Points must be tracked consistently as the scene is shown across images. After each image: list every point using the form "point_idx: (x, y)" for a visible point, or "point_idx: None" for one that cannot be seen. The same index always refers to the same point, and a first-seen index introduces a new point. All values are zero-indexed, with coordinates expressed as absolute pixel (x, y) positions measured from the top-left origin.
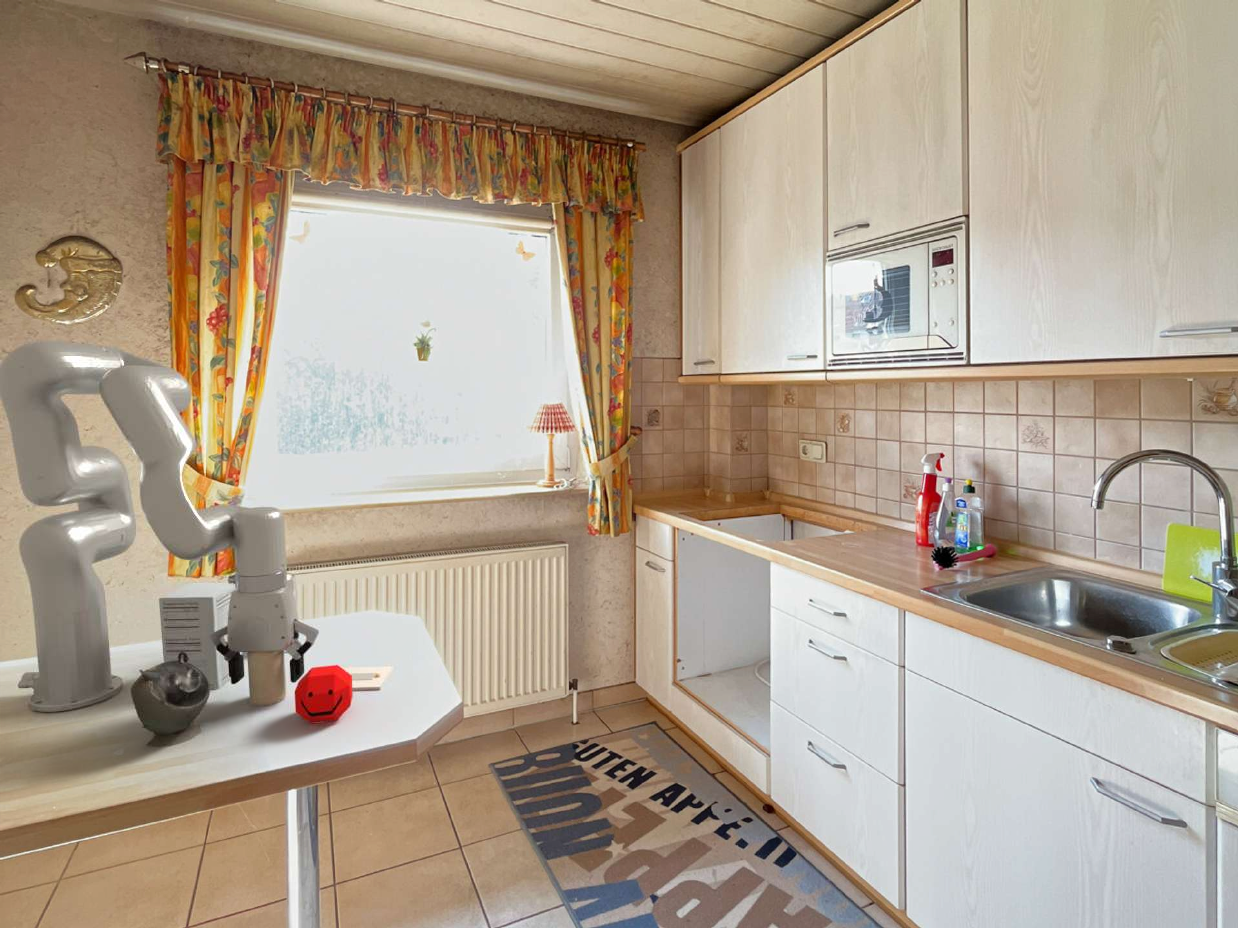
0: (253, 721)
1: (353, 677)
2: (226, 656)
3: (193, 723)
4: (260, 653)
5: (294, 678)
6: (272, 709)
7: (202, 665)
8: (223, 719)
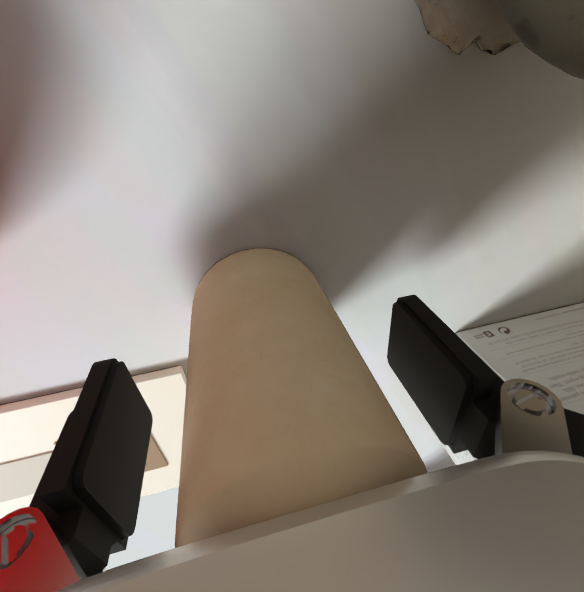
0: (173, 86)
1: (35, 470)
2: (545, 405)
3: (457, 49)
4: (295, 491)
5: (88, 377)
6: (173, 225)
7: (563, 379)
8: (340, 105)
